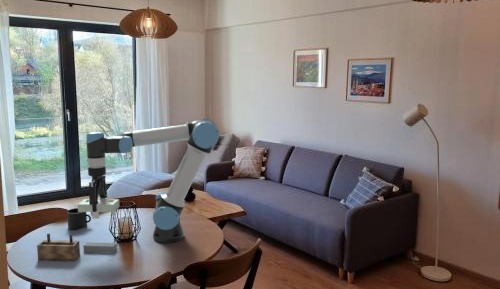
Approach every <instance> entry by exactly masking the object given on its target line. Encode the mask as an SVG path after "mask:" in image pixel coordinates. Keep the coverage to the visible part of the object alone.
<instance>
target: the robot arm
mask: <svg viewBox="0 0 500 289" xmlns="http://www.w3.org/2000/svg"><path fill="white" fill-rule="evenodd" d="M219 139H220V132H219V128H218V126H217V124H216V123H215V122H214V121H213V120H211V119H208V118H200V119H198V120H191V121H187V122H186V123H185V124H179V125H171V126H164V127H162V126H161V127H156V128H148V129H140V130H133V131H120V132H119V133H117V134H116V135H115V136H114V135H113V136H105V133H104V132H102V131H90V132H88V133H86V143H85V144H86V156H87V158H86V161H87V174H88V176H89V177H91V181H89V182H88V187H89V192H88V193H89V197H88V199H89V205H92V212H91V216H92V217H91V219H100V212H99V206H98V204H97V202H98V199H108V191H107V183H106V174H107V167H106V163H107V162H106V154H128V153H132V152H133V148H135V147H136V148H137V147H142V146H150V145H157V144H158V145H159V144H165V143H166V144H167V143H172V142H182V141H187V143H186V144H187V150H186V152H185V154H184V156H183V158H182V160H181V162H180V164H179V167H178V169H176V170H177V171H176V173H175V175H174V177H173V179H172V181H171V184H170V186H169V188H168V189H167V191H166V192H158V193H157V194H156V195H155V208H154V211H153V213H152V220H153V223H154V224H155V227H154V230H153V233H152V238H153V241H155V242H157V243H162V244H163V243H164V244H165V243H166V244H168V243H169V244H170V242H171V243H176V242H179V241H181V240H182V239H184V236H185V234H184V229H183V226H182V224H181V215H182V212H183V210H184V208H185V206H186V204H185V202H184V200H185V198H186V197H187V194H188V192H189V190H190V188H191V186H192V184H193V182H194V180H195V178H196V176H197V173H198V172H199V169H200V167H201V165H202V163H203V161H204V160H205V157H206V156H209V155H210V154H211V152H212V150H213V148H214V147H215V145H216V144H217V143H218V140H219ZM180 239H181V240H180ZM178 240H179V241H178ZM175 241H176V242H175Z"/></svg>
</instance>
